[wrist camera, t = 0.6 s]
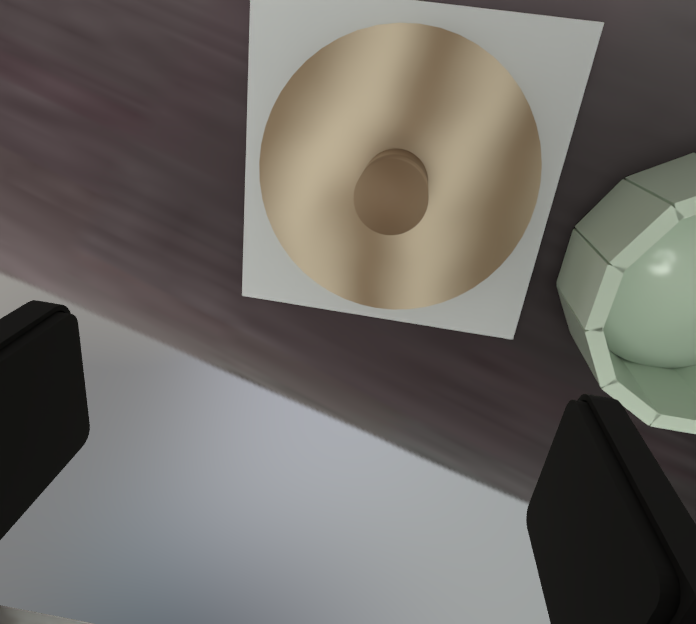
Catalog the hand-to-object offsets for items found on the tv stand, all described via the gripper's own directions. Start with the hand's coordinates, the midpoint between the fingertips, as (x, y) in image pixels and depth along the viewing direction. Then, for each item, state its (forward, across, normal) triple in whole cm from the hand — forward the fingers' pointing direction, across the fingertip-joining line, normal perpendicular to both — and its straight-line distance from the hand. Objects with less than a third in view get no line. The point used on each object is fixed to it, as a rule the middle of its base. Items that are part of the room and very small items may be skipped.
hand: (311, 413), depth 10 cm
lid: (+21, -1, 0) cm, 21 cm away
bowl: (+21, -17, +2) cm, 27 cm away
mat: (+21, -1, 0) cm, 21 cm away
